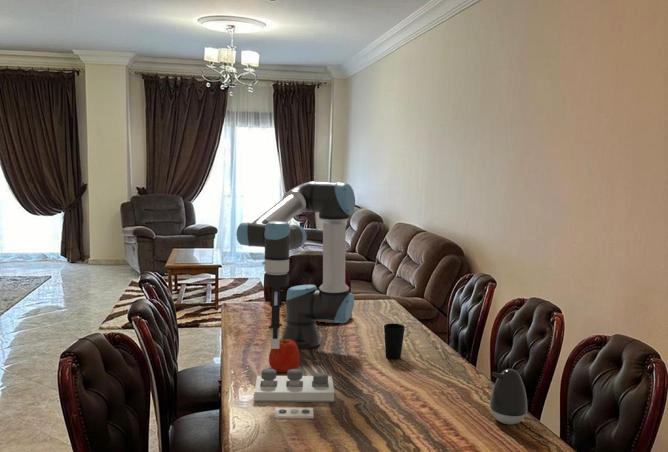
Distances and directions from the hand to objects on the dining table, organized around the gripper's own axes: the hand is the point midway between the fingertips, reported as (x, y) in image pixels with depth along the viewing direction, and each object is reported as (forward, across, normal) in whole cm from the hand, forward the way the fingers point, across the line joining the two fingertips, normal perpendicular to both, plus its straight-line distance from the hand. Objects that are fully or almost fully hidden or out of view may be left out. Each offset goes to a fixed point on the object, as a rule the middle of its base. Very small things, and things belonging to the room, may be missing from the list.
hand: (274, 347), depth 184 cm
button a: (+14, 0, +14) cm, 20 cm away
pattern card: (+15, +16, +6) cm, 22 cm away
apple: (+15, -22, +3) cm, 27 cm away
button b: (+12, 0, +6) cm, 14 cm away
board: (+15, 0, +6) cm, 16 cm away
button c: (+12, 0, -2) cm, 12 cm away
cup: (+15, -34, +44) cm, 58 cm away
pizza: (+15, -91, +23) cm, 95 cm away
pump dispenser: (+15, +21, +67) cm, 72 cm away
